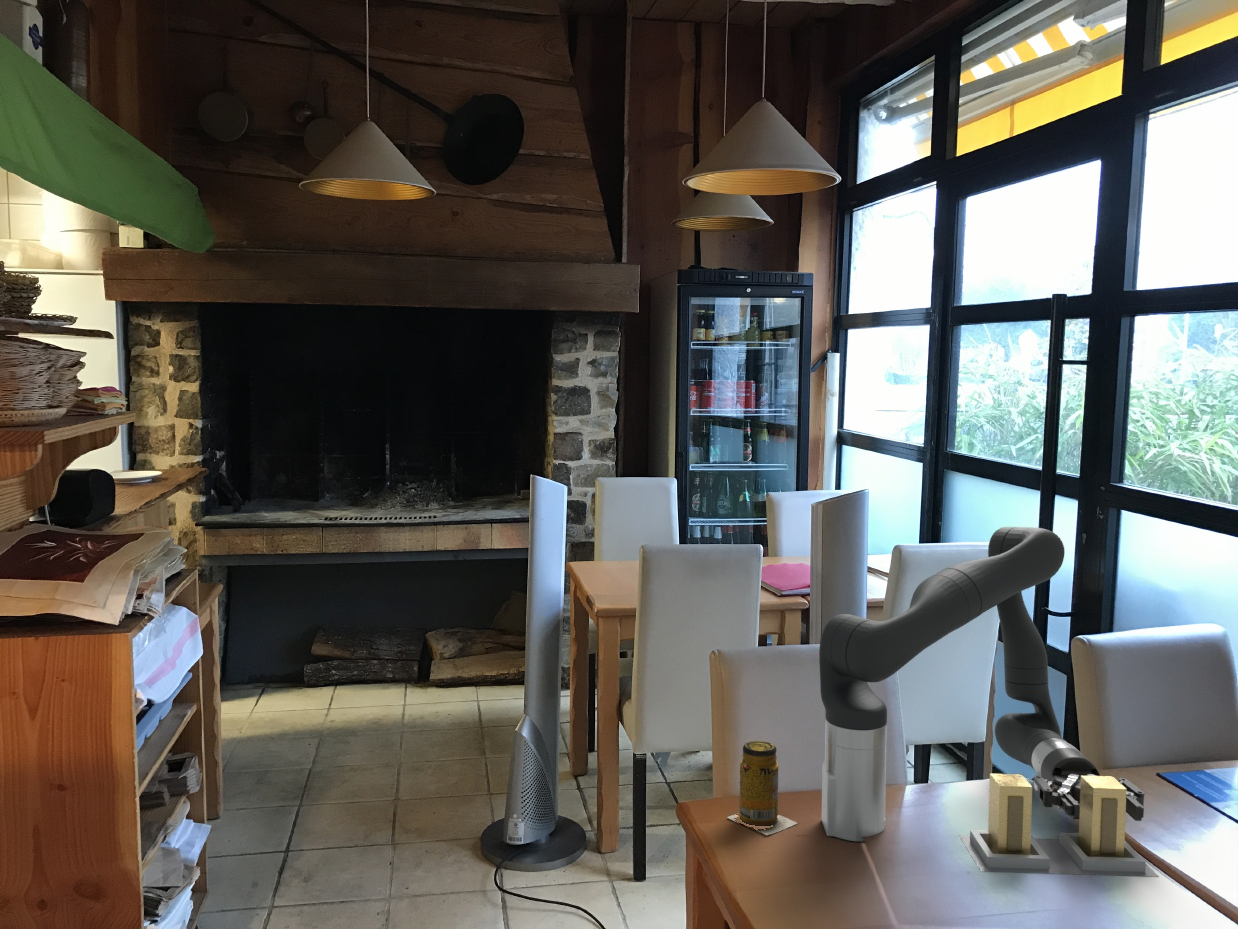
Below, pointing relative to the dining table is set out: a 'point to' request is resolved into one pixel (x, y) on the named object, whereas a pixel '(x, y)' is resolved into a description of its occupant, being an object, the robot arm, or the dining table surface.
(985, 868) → the grey double socket tray
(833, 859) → the dining table surface
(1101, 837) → the block
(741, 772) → the condiment
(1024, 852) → the block
